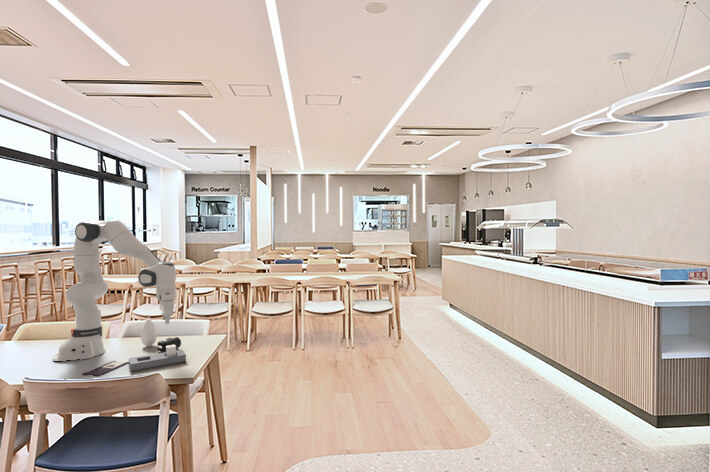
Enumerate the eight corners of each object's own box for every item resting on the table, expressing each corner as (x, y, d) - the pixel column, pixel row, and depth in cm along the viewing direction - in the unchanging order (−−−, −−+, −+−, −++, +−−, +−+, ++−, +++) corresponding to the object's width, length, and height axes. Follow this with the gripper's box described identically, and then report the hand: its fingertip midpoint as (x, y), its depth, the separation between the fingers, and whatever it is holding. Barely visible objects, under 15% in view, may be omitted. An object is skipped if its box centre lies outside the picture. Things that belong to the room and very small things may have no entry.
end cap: (167, 355, 207) (167, 342, 207) (156, 354, 209) (156, 341, 209) (181, 349, 217) (181, 337, 217) (171, 348, 219) (170, 336, 219)
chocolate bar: (82, 373, 180) (114, 360, 197) (82, 375, 180) (114, 362, 197) (98, 375, 178) (129, 361, 195) (98, 377, 178) (129, 363, 195)
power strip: (130, 372, 182) (130, 364, 182) (128, 366, 190) (128, 358, 190) (186, 362, 195) (185, 354, 195) (182, 357, 204) (182, 349, 203)
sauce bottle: (138, 347, 220) (137, 315, 219) (148, 343, 227) (147, 312, 227) (149, 348, 218) (149, 316, 218) (160, 344, 226) (159, 313, 225)
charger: (167, 362, 193) (167, 347, 193) (166, 359, 197) (165, 345, 196) (176, 360, 195) (175, 346, 195) (174, 358, 199) (174, 344, 199)
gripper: (156, 291, 205) (156, 318, 205) (161, 297, 188) (161, 326, 188) (169, 290, 208) (169, 316, 209) (176, 296, 191) (175, 325, 191)
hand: (165, 321), depth 198 cm, fingers open, 8 cm apart
